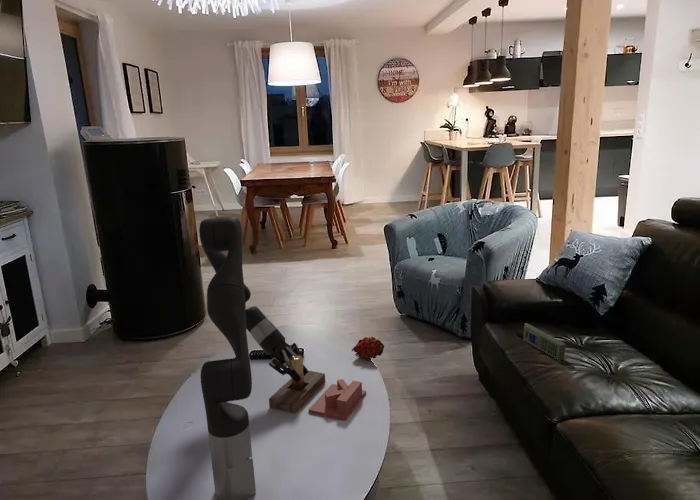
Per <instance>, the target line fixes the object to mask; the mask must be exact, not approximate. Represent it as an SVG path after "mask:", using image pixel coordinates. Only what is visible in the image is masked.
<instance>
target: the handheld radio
mask: <svg viewBox="0 0 700 500" xmlns="http://www.w3.org/2000/svg"><path fill="white" fill-rule="evenodd" d="M523 324H524V327H523V328H524V330H523V333H522V332H520V331H519V330H515V334H516V335H518V336H519V337H522V338H523V341H524V342H526V343H527V344H529V345H531V346H532V347H534V348H535V349H537V350H541V351H540V352H542V351H543V353H544V352H545V353H546V354H545V353H544V354H545V355H547V354H548V355H547V356H549V355H550V356H552V357H554V358H555V359H557V360H558V361H557V360H556V361H557V362H559V361H560V362H562V361H561V360H564V361H565V352H566V343H565V342H563V341H560V340H559V339H557V338H555V337H553V336H552V335H550V334H548V333H546V332H545V331H542V330H541V329H540V328H537V327H535V326H533V325H532V324H530V323H527V322H526V323H523ZM550 356H549V357H550ZM552 357H551V358H552ZM554 358H553V359H554ZM555 359H554V360H555Z"/></svg>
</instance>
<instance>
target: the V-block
mask: <svg viewBox="0 0 700 500" xmlns="http://www.w3.org/2000/svg"><path fill="white" fill-rule="evenodd" d="M366 394H367V390H364V389H363V382H362V381H358V380H353V379H352V381H351V382H350V383H349V385H348V384H347V382H346V381H345V380H344V378H341V379H338V380H336V384H335V383H331V384H330V386H329V387H328V388H327V389H326V390H325V391H324V392H323V393H322V394H321V395H320V396H319V397H318V398H317V400H316V401H315V402H314V403H313V404H312V405H311V406H310V407H309V408H308V413H310V414H314V415H318V416H323V417H326V418H331V419H335V420H339V421H344V422H346V421H347V419H348V418H349V416H351V414H352V412H353V411H354V410H355V409H356V408H357V406H358V405H359V403H361V401H362V400H363V398H364V397H365V396H366Z"/></svg>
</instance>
